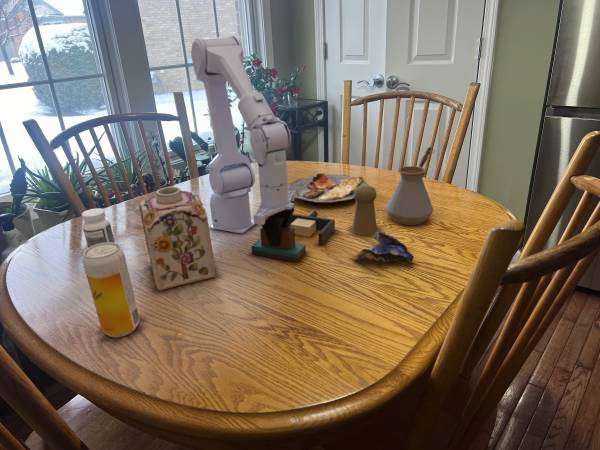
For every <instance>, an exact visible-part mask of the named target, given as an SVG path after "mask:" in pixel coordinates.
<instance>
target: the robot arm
mask: <svg viewBox="0 0 600 450" xmlns="http://www.w3.org/2000/svg"><path fill="white" fill-rule="evenodd" d="M190 56H191V61H192V66H193V71H194V74H195V77H196V80H197V81H199V82H201V83H202V84H203V88H204V93H205V94H204V95H205V99H206V104H207V107H208V113H209V117H210V123H211V128H212V133H213V138H214V143H215V147H216V151H217V154H216V156H215V157H214V158H213V159H212V161H211V162H210V163H209V164H208V173H209V176H208V179H209V180H208V181H209V185H210V188H211V190H212V194H211V196H210V199H209V209H210V214H211V215H210V216H211V221H212V223H211V226H210V228H211V229H213V230H218V231H226V232H230V233H237V234H244V233H245V232H247V231H248V230H250V229H251V228H252V227H253V226H254V225H259V226H261V228H263V229H264V231H265V233H266V236H267V239H268V241H269V244H270V245H271V246H277V247H278V246H279V245H280V236H281V227H286V228H289V226H290V225H289V222H290V219H291V217H292V214H294V212H295V203H294V201H295V200H296V198H294V192H290V191H288V184H289V183H288V167H287V150H289V149H290V147H291V144H292V135H291V131H290V129H289V127H288V124H287V123H286V121H283V120H281V119H280V118H279V117H276V116H275V114H274V113H273V111H272V109H271V106H270V105H269V103H268V102H267V100H266V97H264V94H263V93H261V92H260V91H259V92H258V91H255V88H254V86H253V84H252V82H251V79H250V77H249V75H248V72H247V70H246V68H245V65H244V58H245V57H244V48H243V45H242V43H241V41H240V39H239V38H238V37H237V36H235V35H232V36H225V37H208V38H207V37H206V38H200V37H196V38H194V40H193V42H192V44H191V51H190ZM227 83H228V85H229V86H230V88H231V89H232V90H233V92H234V94H235V95H236V97H237V98H238V100H239V101H238V104H237V109H238V111H239V113H240V115H241V117H242V119H243V121H244V123H245V124H246V126H247V129H248V131H249V132H250V138H249V142H250V146H251V149H252V151H253V155H254V160H255V163H257V168H258V169H257V171H258V181H259V192H260V193H259V194H260V204H259V206H258V208H257V210H256V212H255V213H254V214H253V218H252V214H251V213H252V212H251V204H250V194H249V193H250V192H252V188H253V187H254V185H255V181H256V175H255V172H254V169H253V167H252V164H251V161H250V158H249V157H248V156H247V155H245V154H243V153H241V152H239V147H238V141H237V136H236V131H235V126H234V120H233V116H232V115H233V114H232V109H231V105H230V99H229V94H228V89H227Z"/></svg>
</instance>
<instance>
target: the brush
mask: <svg viewBox="0 0 600 450" xmlns="http://www.w3.org/2000/svg"><path fill="white" fill-rule="evenodd" d="M259 231H260V238H259V239H258V240H257V241H256V242H254V243H253V244H252V245H251V254H252V255H257V256H261V257H266V258H273V259H278V260H282V261H288V262H294V263H298V262H299V261H300V260H301V259H302V258H303V257H304V255H306V254H307V250H306V244H303V243H297V242H296V234H295V231H294V229H293V228H291V227H288V228H286V227H281V236H280V245H279V246H278V247H277V246H271V245H270V244H269V241H268V239H267V236H266V233H265V231H264V229H263V228H262V227H260V228H259Z"/></svg>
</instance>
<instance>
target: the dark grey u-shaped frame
mask: <svg viewBox="0 0 600 450" xmlns="http://www.w3.org/2000/svg"><path fill="white" fill-rule="evenodd" d="M297 218H299V219H306V220H313V221H316V231H318V230H319V232H318V246H323V245H324V244H325V243H326V241H327V240H329V238H330V237H331V236H332V235H333V233H335V231H336V219H334V218H326V217H319V212H318V211H317V210H312V211H311V212H309V213H308V214H307V215H306V214H298V213H293V214H292V217H291V219H290V222H289V226H290V224H291V223H293V222H294V221H295V220H296V219H297Z"/></svg>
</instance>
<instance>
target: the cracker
mask: <svg viewBox="0 0 600 450" xmlns="http://www.w3.org/2000/svg"><path fill="white" fill-rule="evenodd" d="M289 226H290V228H293V229H294V231H295V236H302V237H311V236H313V234H314V233H315V232H316V231H317V229H316V221H313V220H306V219H299V218H297V219H296V220H295V221H294V222H293V223H291V224H290V225H289Z"/></svg>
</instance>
